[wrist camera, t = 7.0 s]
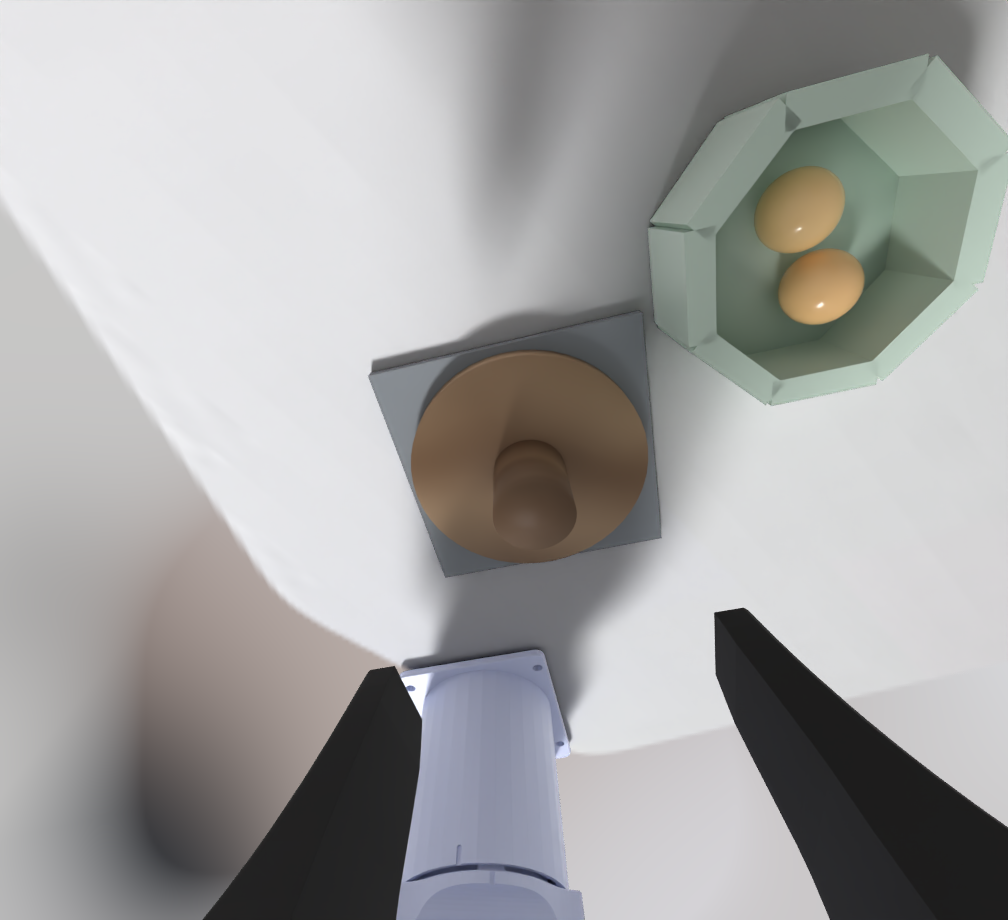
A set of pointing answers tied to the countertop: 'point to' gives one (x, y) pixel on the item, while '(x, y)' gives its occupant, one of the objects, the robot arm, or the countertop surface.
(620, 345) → the mat
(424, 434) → the lid
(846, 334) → the bowl
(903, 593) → the countertop surface
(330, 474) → the countertop surface
